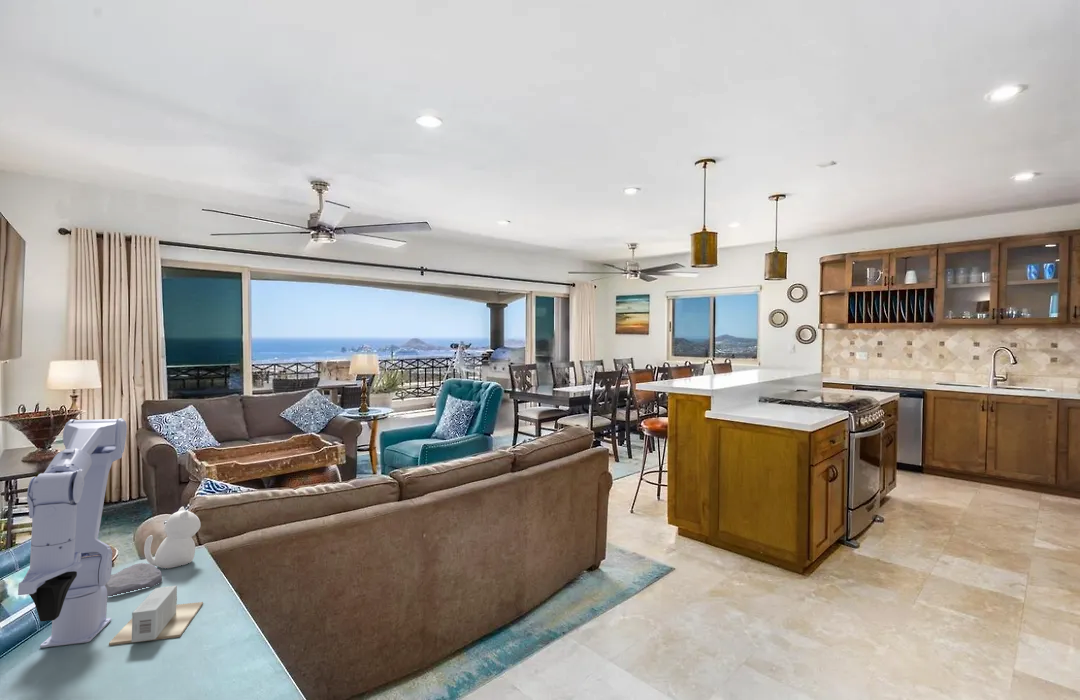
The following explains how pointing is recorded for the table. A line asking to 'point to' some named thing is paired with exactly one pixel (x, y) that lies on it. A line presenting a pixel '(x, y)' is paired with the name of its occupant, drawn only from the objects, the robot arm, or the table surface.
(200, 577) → the table surface
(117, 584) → the stone block
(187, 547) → the cat figurine
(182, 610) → the birch board
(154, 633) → the skincare box
